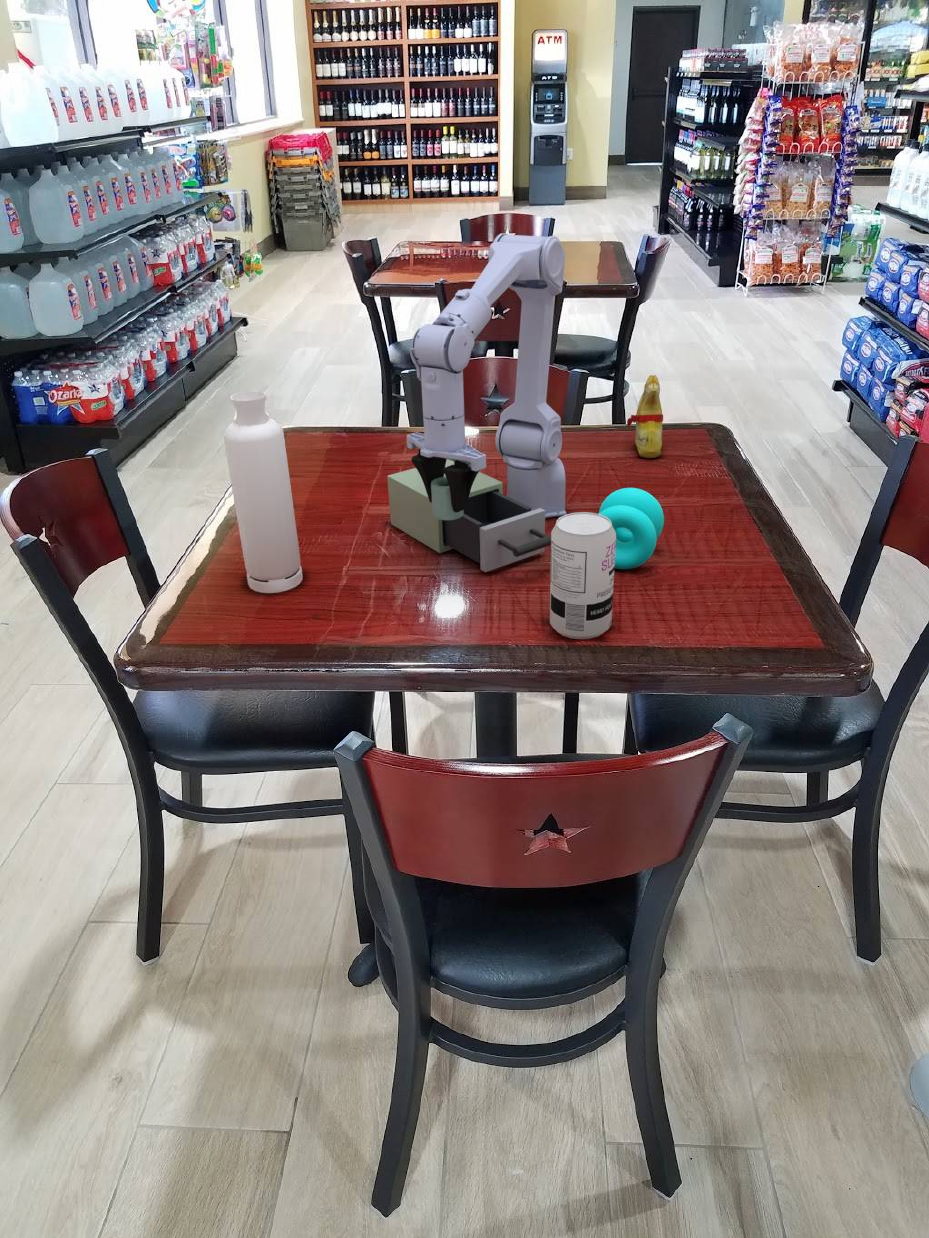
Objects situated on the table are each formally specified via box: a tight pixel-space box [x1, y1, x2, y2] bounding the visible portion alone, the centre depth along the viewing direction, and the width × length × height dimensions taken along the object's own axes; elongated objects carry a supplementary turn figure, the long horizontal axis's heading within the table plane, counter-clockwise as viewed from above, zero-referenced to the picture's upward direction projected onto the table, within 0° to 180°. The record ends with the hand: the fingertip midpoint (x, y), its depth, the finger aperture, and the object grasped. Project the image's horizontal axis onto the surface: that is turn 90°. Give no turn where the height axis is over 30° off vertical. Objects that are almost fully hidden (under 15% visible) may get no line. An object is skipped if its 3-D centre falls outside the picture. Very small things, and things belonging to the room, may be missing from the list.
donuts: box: [598, 487, 665, 570], centre depth 140 cm, size 10×10×10 cm
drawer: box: [442, 490, 551, 573], centre depth 141 cm, size 19×11×7 cm, turn 35°
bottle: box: [223, 390, 303, 594], centre depth 132 cm, size 8×8×28 cm
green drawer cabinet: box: [386, 459, 504, 554], centre depth 152 cm, size 15×13×9 cm
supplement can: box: [549, 511, 616, 640], centre depth 121 cm, size 8×8×15 cm
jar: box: [431, 477, 464, 520], centre depth 135 cm, size 4×5×5 cm
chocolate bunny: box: [626, 374, 664, 459], centre depth 179 cm, size 7×11×15 cm, turn 176°
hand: (447, 505), depth 136 cm, fingers closed on jar, 4 cm apart
